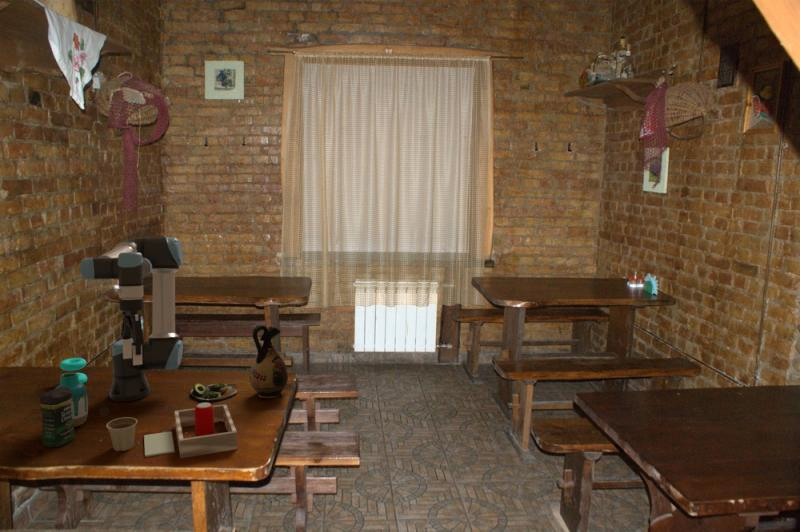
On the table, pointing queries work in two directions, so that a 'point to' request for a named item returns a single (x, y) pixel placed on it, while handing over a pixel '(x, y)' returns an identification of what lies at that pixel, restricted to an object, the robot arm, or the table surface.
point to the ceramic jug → (267, 365)
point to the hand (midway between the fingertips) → (132, 361)
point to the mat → (158, 444)
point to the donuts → (75, 367)
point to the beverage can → (204, 419)
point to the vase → (76, 397)
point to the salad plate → (212, 391)
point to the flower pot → (122, 433)
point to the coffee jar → (57, 417)
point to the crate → (207, 442)
